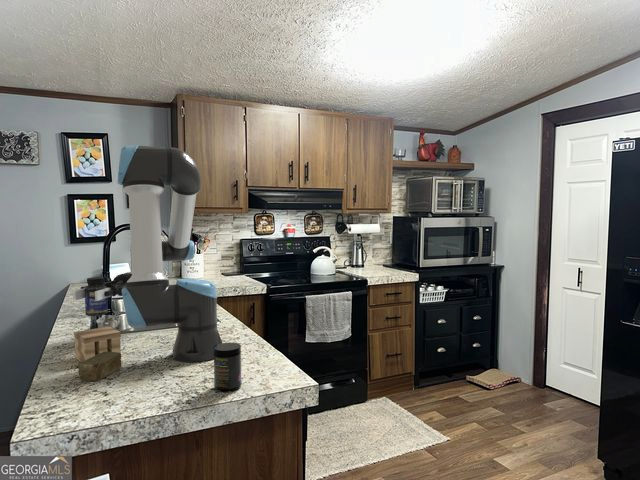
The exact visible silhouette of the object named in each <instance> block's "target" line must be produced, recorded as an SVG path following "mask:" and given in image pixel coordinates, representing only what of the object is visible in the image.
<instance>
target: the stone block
mask: <svg viewBox="0 0 640 480" xmlns="http://www.w3.org/2000/svg"><path fill="white" fill-rule="evenodd" d="M122 366H123V365H122V352H121V353H118V352H105V351H104V352H102V353H100V354H97V355H95V356H93V357H91V358H89V359H87V360H85V361H83V362H79V363H78V369H77V370H78V377H79V379H80V380H82V381H86V382H87V381H89V382H98V381H100V380H101V379H103V378H105V377H107V376H109V375H111V374H113V373H115V372H117V371H119V370H120V369H121V368H123V367H122Z"/></svg>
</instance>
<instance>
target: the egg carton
mask: <svg viewBox="0 0 640 480" xmlns="http://www.w3.org/2000/svg"><path fill="white" fill-rule="evenodd" d="M121 318H122V317H121V315H119V316H117V315H116V314H115V315H113V314H112V315H110V314H108V315H107V314H104V315H101V316H100V317H99V318H98V319H96V320H95V321H96V323H97V328H101V327H107V326H109V327H111V328H113V329H115V328H117V327H118V326H119V324H121Z"/></svg>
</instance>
